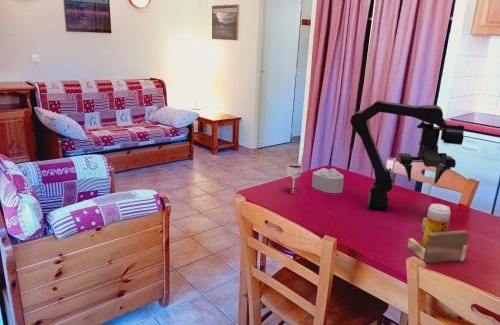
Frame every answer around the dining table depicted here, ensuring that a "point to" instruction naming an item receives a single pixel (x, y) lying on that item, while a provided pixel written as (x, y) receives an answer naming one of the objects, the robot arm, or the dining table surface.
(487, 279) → the dining table surface
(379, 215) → the dining table surface
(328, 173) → the grey lumpy block
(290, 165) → the wineglass
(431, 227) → the beer can
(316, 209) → the dining table surface
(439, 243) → the shelf
